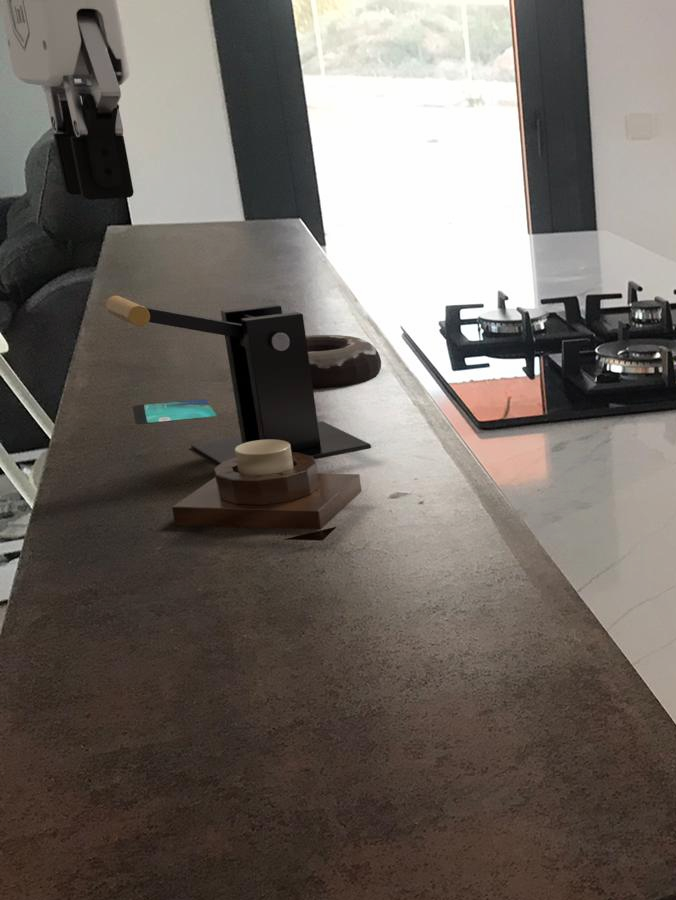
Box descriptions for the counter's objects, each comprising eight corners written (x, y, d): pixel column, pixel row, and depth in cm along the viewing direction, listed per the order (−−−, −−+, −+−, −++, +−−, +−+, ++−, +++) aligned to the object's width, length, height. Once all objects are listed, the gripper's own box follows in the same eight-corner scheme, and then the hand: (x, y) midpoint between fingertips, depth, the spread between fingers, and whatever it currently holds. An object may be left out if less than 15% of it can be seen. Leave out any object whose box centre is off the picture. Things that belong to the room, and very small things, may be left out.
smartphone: (319, 407, 115) (133, 425, 108) (320, 415, 115) (135, 433, 109) (307, 388, 121) (130, 404, 114) (308, 396, 121) (132, 413, 114)
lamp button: (229, 478, 88) (225, 453, 87) (251, 462, 91) (247, 438, 90) (281, 479, 88) (277, 454, 87) (301, 463, 91) (298, 439, 90)
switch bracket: (236, 486, 97) (211, 330, 92) (193, 458, 103) (166, 311, 98) (372, 458, 104) (355, 312, 99) (324, 434, 110) (305, 295, 105)
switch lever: (126, 331, 90) (130, 297, 90) (103, 319, 94) (107, 287, 93) (293, 359, 99) (298, 328, 99) (267, 348, 103) (271, 318, 102)
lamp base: (177, 537, 87) (166, 481, 86) (229, 498, 94) (220, 446, 93) (322, 541, 87) (314, 485, 85) (363, 502, 94) (356, 450, 93)
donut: (264, 372, 129) (258, 333, 128) (385, 367, 132) (381, 329, 131) (249, 401, 119) (242, 359, 118) (381, 396, 122) (376, 354, 120)
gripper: (-57, -102, 85) (7, 188, 92) (11, -120, 74) (77, 211, 81) (67, -93, 89) (118, 182, 97) (148, -108, 79) (199, 203, 86)
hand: (99, 193), depth 89 cm, fingers open, 3 cm apart
